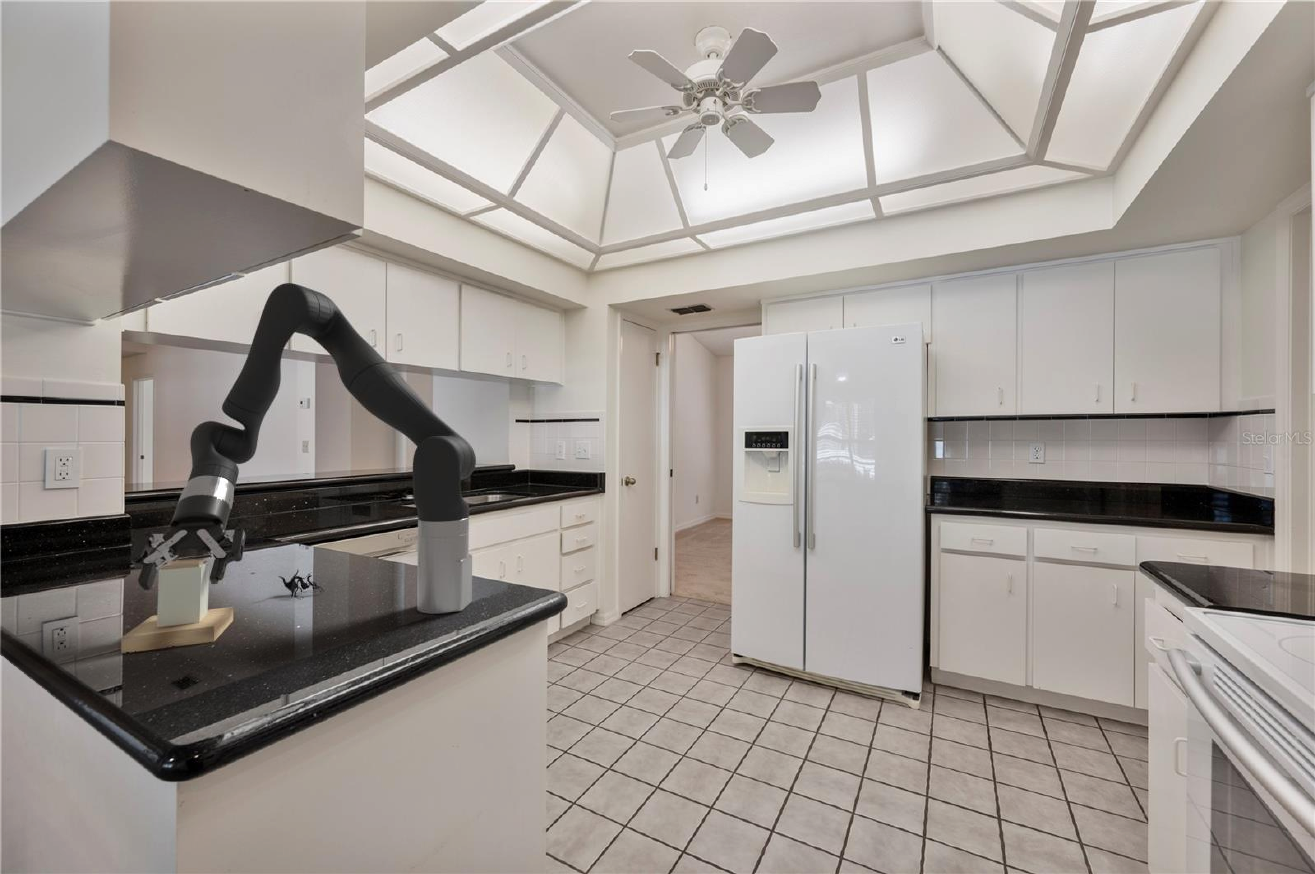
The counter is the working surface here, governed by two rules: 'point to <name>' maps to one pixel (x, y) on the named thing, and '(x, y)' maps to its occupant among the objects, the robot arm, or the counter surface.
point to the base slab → (177, 632)
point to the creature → (293, 585)
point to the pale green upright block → (183, 592)
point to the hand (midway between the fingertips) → (180, 584)
